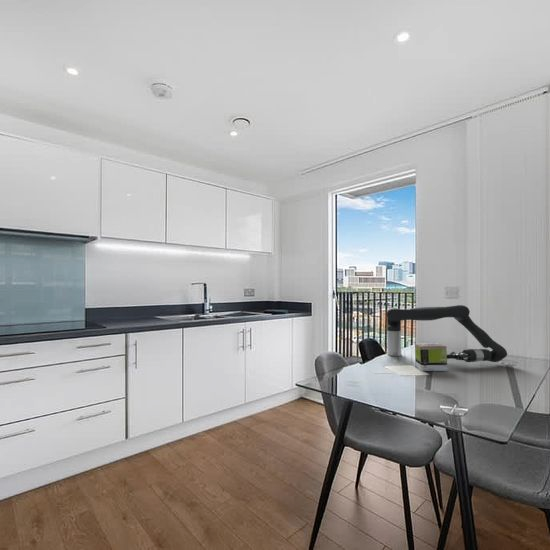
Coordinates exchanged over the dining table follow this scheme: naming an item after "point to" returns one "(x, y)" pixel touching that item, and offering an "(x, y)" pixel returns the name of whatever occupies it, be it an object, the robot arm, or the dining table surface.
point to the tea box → (431, 356)
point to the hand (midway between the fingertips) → (446, 356)
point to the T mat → (407, 370)
